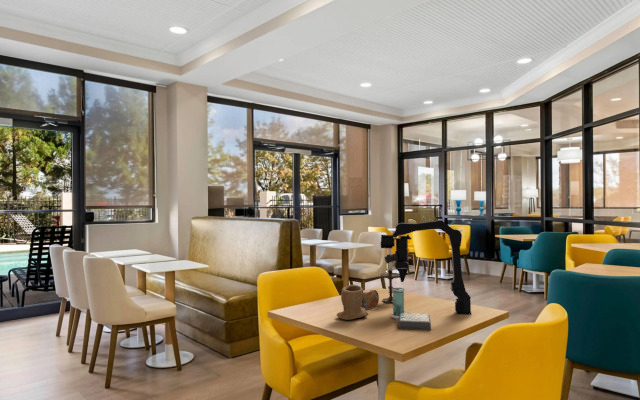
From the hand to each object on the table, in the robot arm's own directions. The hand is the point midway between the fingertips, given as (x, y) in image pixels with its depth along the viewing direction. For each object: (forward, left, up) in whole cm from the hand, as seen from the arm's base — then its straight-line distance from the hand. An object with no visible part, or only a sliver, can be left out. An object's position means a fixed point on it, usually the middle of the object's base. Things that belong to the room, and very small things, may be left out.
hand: (402, 280), depth 205 cm
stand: (-5, +25, -15) cm, 30 cm away
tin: (+17, -3, -15) cm, 23 cm away
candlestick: (+7, -18, -15) cm, 24 cm away
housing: (+2, +13, -15) cm, 20 cm away
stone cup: (+22, +18, -15) cm, 32 cm away
